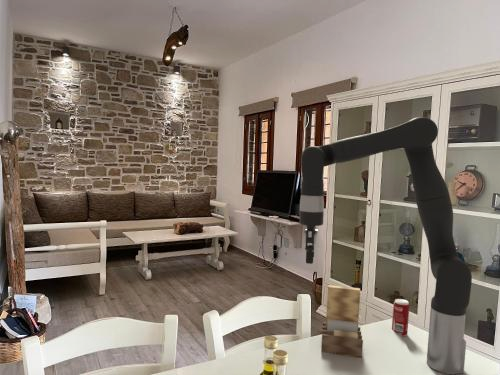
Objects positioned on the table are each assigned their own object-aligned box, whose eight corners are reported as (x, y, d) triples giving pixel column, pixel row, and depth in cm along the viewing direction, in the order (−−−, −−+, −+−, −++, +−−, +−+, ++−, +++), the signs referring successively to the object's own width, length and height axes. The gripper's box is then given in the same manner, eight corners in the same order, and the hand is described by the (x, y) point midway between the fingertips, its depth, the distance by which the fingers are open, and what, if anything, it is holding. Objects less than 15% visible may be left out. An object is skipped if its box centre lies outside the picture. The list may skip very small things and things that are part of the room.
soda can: (396, 329, 137) (398, 297, 136) (410, 334, 133) (412, 301, 132) (388, 333, 133) (391, 300, 133) (402, 338, 129) (405, 304, 129)
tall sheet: (356, 342, 121) (359, 288, 120) (356, 345, 119) (360, 290, 118) (324, 338, 123) (328, 284, 122) (324, 341, 121) (328, 286, 120)
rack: (359, 346, 122) (360, 327, 121) (361, 362, 111) (363, 341, 111) (321, 341, 124) (322, 322, 124) (321, 356, 114) (322, 336, 114)
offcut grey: (355, 347, 118) (357, 322, 118) (355, 349, 116) (357, 324, 116) (326, 343, 120) (327, 318, 119) (326, 345, 118) (327, 321, 118)
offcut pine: (356, 351, 115) (357, 332, 115) (356, 354, 113) (357, 335, 113) (332, 348, 117) (334, 329, 116) (332, 351, 115) (334, 332, 114)
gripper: (323, 212, 111) (321, 266, 111) (323, 208, 125) (322, 256, 125) (298, 211, 112) (296, 264, 113) (301, 207, 126) (299, 254, 127)
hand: (310, 260), depth 119 cm, fingers open, 8 cm apart
